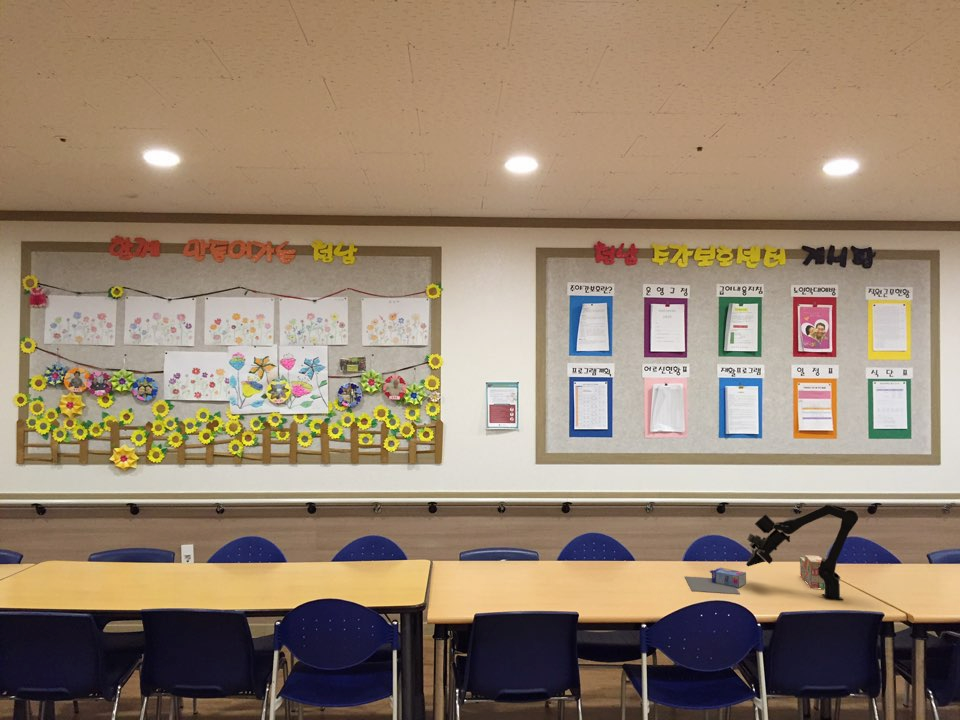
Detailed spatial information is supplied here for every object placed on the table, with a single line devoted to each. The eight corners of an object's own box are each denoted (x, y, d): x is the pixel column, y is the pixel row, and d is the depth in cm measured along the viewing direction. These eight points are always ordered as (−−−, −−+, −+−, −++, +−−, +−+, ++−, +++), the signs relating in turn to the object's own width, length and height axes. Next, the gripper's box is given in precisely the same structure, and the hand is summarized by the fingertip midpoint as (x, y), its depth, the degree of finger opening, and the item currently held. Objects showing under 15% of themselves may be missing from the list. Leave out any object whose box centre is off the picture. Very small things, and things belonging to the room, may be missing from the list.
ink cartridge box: (738, 575, 295) (706, 570, 305) (738, 587, 295) (706, 582, 304) (746, 571, 303) (714, 566, 312) (746, 583, 302) (715, 578, 312)
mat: (740, 594, 286) (740, 593, 286) (691, 591, 290) (691, 590, 290) (729, 579, 310) (729, 579, 310) (684, 576, 313) (684, 576, 313)
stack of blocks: (799, 576, 318) (799, 550, 319) (814, 577, 317) (813, 551, 317) (811, 588, 297) (810, 560, 298) (826, 590, 296) (826, 561, 297)
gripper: (753, 524, 307) (729, 547, 308) (764, 531, 288) (737, 556, 290) (772, 542, 305) (747, 565, 306) (783, 551, 287) (757, 576, 288)
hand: (746, 565), depth 297 cm, fingers closed
